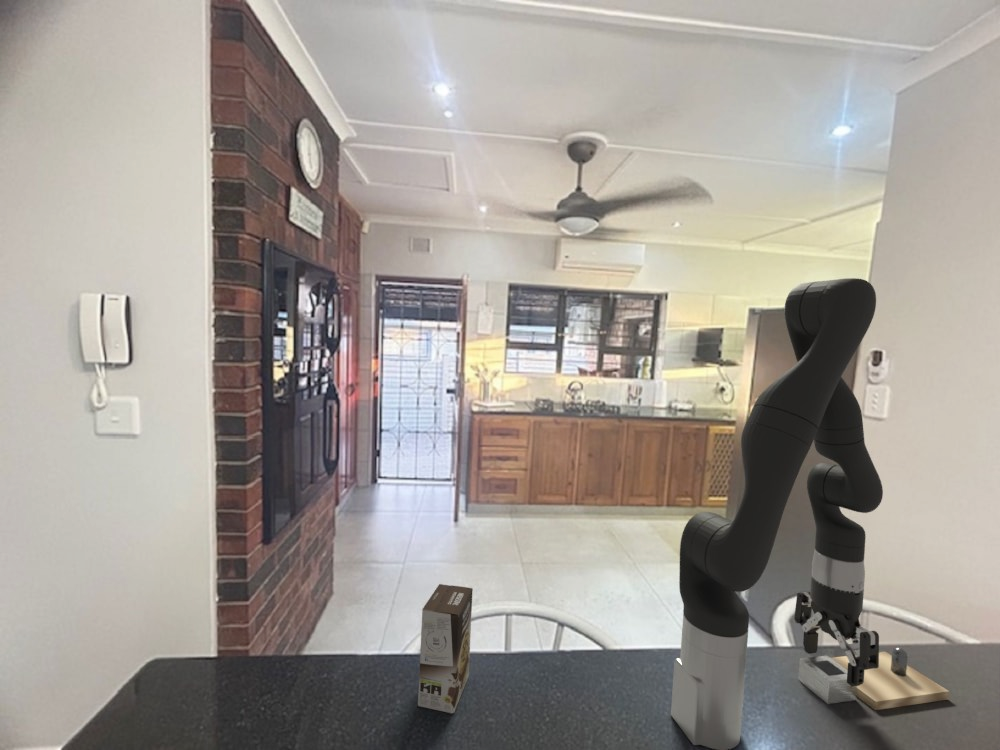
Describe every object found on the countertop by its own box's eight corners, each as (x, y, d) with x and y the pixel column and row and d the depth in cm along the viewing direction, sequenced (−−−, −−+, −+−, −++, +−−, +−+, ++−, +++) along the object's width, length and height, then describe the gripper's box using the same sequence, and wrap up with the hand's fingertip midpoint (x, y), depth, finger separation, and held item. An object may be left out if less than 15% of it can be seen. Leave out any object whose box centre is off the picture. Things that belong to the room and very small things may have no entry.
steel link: (827, 704, 80) (829, 681, 79) (798, 679, 85) (799, 658, 85) (856, 700, 81) (858, 677, 81) (825, 676, 87) (826, 655, 86)
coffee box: (455, 715, 73) (459, 615, 73) (416, 707, 75) (420, 609, 74) (470, 676, 82) (474, 587, 82) (435, 669, 84) (439, 581, 83)
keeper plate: (875, 710, 79) (878, 675, 78) (817, 666, 89) (820, 635, 89) (948, 699, 82) (951, 665, 82) (884, 658, 93) (887, 629, 92)
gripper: (786, 562, 88) (781, 645, 89) (858, 602, 74) (851, 700, 75) (819, 559, 90) (814, 640, 91) (896, 598, 76) (889, 694, 77)
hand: (831, 667), depth 83 cm, fingers open, 8 cm apart
